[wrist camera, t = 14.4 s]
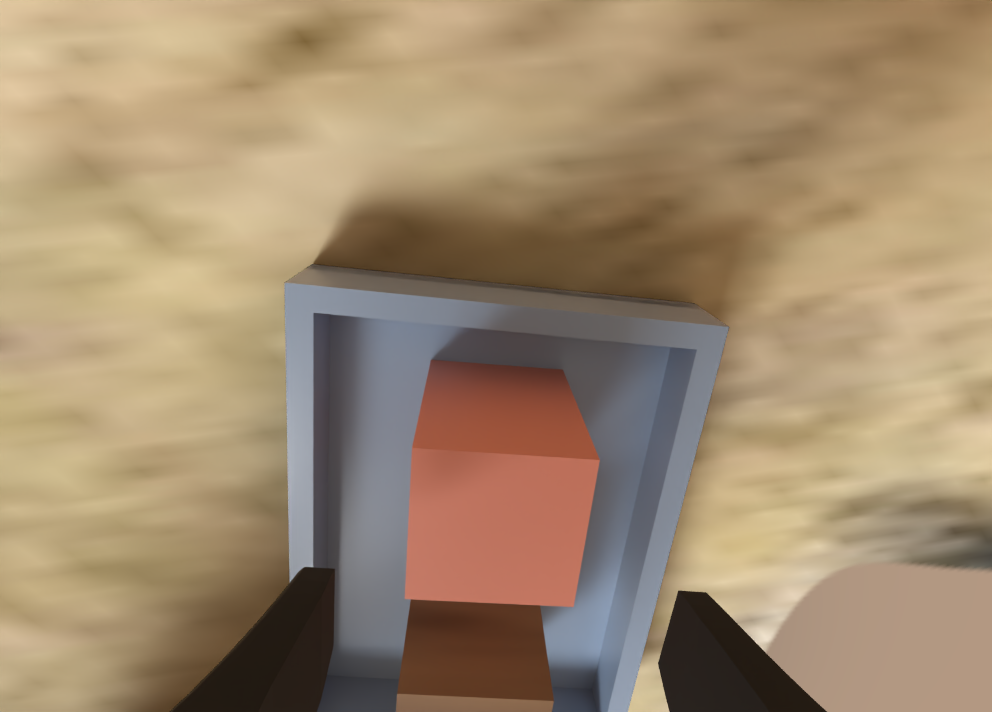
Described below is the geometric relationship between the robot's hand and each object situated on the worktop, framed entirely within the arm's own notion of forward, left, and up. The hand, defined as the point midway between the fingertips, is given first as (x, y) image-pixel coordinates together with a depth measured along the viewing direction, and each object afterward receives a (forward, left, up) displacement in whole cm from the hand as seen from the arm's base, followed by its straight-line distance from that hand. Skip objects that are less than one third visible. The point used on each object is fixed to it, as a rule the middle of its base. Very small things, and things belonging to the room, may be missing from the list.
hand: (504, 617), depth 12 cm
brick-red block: (0, 0, -9) cm, 9 cm away
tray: (-4, 0, -9) cm, 10 cm away
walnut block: (-8, 0, -9) cm, 12 cm away
